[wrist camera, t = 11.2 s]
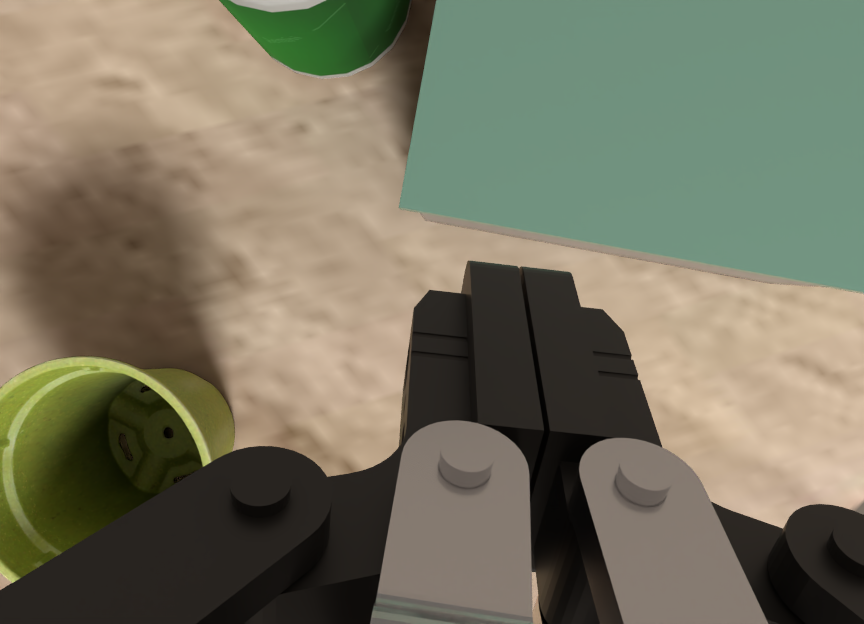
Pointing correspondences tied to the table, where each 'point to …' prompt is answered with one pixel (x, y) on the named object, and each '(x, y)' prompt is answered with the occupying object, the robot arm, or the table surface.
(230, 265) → the table surface
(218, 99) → the table surface
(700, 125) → the lid
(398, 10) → the soda can
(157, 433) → the plant pot
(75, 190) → the table surface
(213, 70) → the table surface
